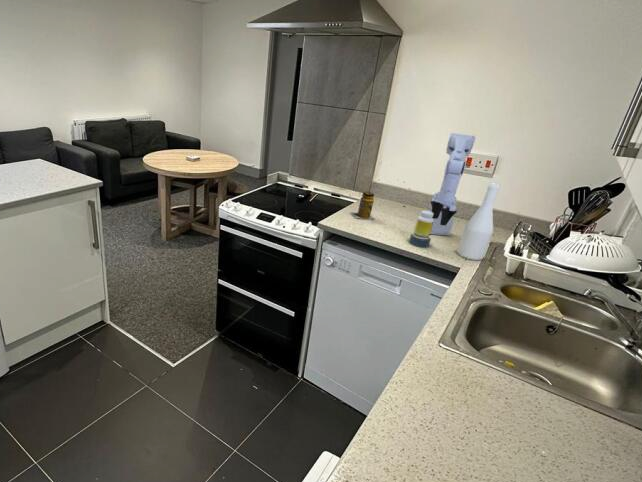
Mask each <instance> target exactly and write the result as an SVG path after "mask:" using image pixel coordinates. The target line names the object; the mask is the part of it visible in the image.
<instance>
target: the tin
mask: <svg viewBox="0 0 642 482" xmlns="http://www.w3.org/2000/svg"><path fill="white" fill-rule="evenodd" d="M408 241H409V244H411V245H413V246H415V247H418V248H428V247H429V246H430V243H431V238H430V237H429V238H428V239H418V238H416V237H414V236H413V233H411V234H410V237H409V240H408Z"/></svg>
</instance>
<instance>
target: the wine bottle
mask: <svg viewBox="0 0 642 482" xmlns="http://www.w3.org/2000/svg"><path fill="white" fill-rule="evenodd" d="M500 187H501V186H500V183H497V182H489V183H488V185H487V189H486V192H485V195H484V198H483V200H482V203H481V205H480V206H479V207H478V208H477V210H476V211H475V212H474V214H473V215H472V216H471V218H470V219H469V220H468V221H467V222H466V224H465V226H464V229H463V232H462V234H461V238H460V241H459V243H458V247H457V254H458V255H459V256H461V257H462V258H465V259H467V260H471V261H481V260H483V259H484V257H485V255H486V252H487V249H488V247H489V245H490V241H491V238H492V236H493V233H494V216H493V214H494V213H493V211H494V209H493V207H494V203H495V199H496V196H497V194H498V191H500V190H499V189H500Z"/></svg>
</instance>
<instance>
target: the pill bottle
mask: <svg viewBox="0 0 642 482" xmlns="http://www.w3.org/2000/svg"><path fill="white" fill-rule="evenodd" d="M433 215H434V213H433V212H431V211H430V210H421V212H420V215H418V216H417V218H416V222H415V225H414V229H413V233H412V234H413V236H414V237H416V238H418V239H428V238H430V235H431V234H430V232H431V229H432V225H433V221H434V220H433V218H432V217H433Z"/></svg>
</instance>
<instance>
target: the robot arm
mask: <svg viewBox="0 0 642 482" xmlns="http://www.w3.org/2000/svg"><path fill="white" fill-rule="evenodd" d="M475 141H476V136H475V135H470V134H461V133H454V132H451V133H450V134H449V138H448V141H447V147H446V152H445V153H446V154H447V155H448V156H449V158H448V160H447V162H446V165H445V169H444V175H443V179H442V181H441V182H442V183H441V186H440V189H439V191H438V192H437V191H436V192H435V193H434V194H433V195H432V198H431V200H430V204H429V207H428V211H430V212H433V213H434V215H433V217H432V218H433V220H434V221H433V225H432V229H431V232H430V235H437V236H438V235H439V236H441V235H442V236H451V231H452V227H453V224H454V215H456V214H457V212H458V211H457V210H456V209H457V205H456V204H457V196H456V193H457V190H458V188H459V184H460V181H461V178H462V176H463V175H464V172H465V170H466V166H467V161H466V158H467V157H469V155H470V154H471V152H472V150H473V147H474V144H475Z"/></svg>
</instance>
